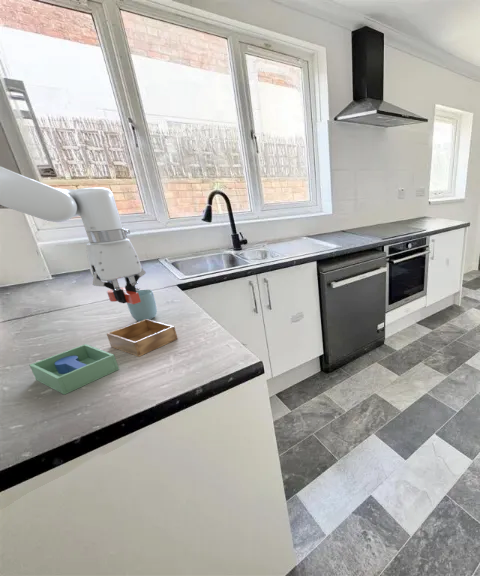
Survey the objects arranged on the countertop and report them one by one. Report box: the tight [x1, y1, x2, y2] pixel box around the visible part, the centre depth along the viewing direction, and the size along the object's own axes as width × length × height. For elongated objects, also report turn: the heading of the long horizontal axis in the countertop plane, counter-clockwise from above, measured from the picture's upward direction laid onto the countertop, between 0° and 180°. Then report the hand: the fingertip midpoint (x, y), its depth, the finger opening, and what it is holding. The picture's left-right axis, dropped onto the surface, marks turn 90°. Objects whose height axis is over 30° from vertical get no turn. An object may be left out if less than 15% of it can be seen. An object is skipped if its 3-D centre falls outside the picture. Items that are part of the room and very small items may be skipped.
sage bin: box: [29, 343, 120, 395], centre depth 79 cm, size 11×14×4 cm
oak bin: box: [106, 319, 179, 358], centre depth 94 cm, size 11×14×4 cm
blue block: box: [54, 356, 86, 374], centre depth 79 cm, size 11×4×3 cm, turn 66°
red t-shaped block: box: [106, 286, 141, 304], centre depth 88 cm, size 11×4×3 cm, turn 65°
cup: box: [126, 289, 158, 322], centre depth 110 cm, size 8×8×10 cm
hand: (127, 300), depth 88 cm, fingers closed on red t-shaped block, 2 cm apart
